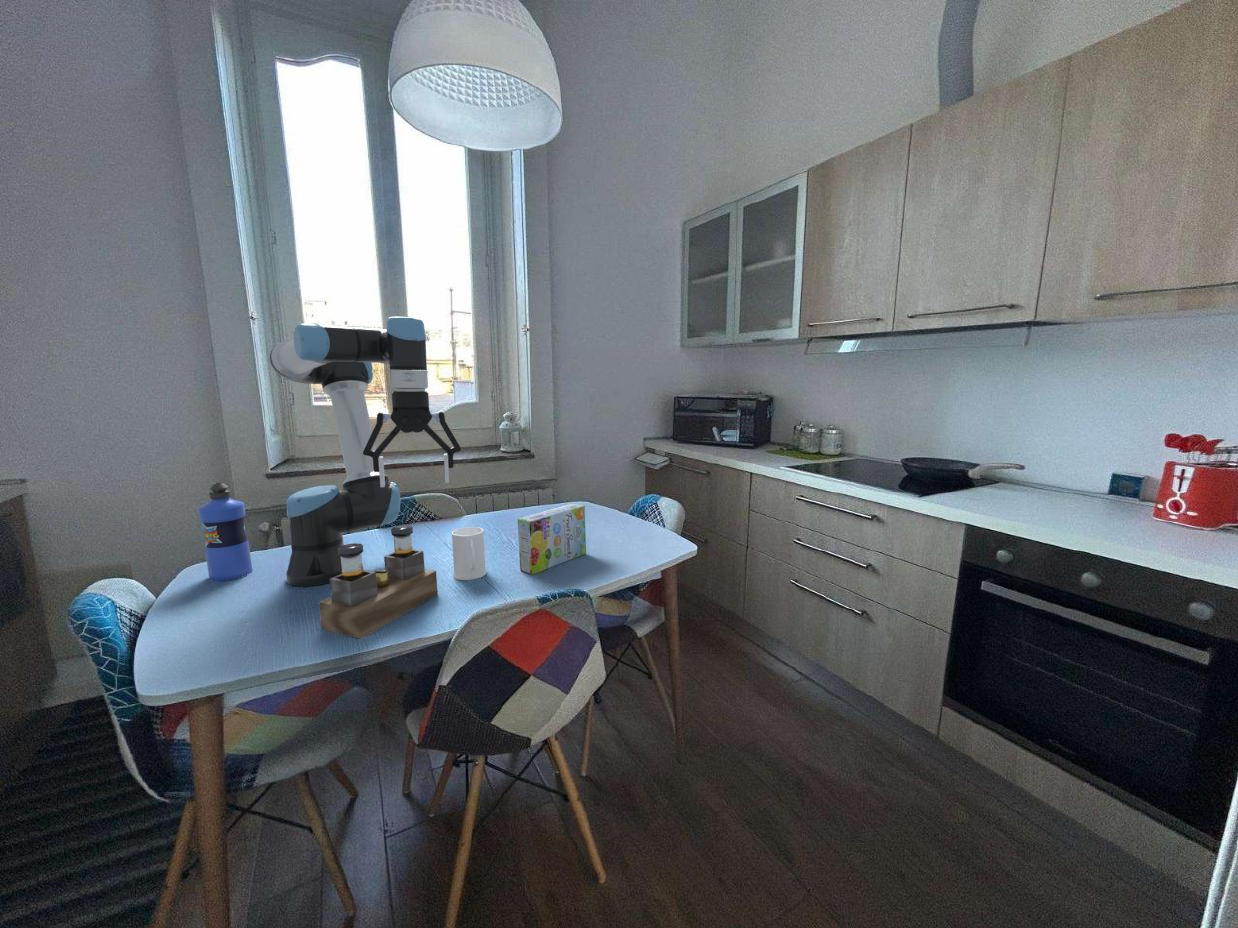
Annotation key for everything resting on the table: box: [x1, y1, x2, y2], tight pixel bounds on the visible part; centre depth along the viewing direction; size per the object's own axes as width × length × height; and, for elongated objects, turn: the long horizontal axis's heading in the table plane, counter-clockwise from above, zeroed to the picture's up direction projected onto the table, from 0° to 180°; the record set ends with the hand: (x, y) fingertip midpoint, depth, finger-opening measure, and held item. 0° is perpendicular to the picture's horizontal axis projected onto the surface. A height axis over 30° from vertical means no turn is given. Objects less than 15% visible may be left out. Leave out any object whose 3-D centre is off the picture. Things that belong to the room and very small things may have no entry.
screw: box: [374, 569, 389, 588], centre depth 108 cm, size 3×3×3 cm
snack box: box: [517, 503, 587, 575], centre depth 137 cm, size 21×6×15 cm, turn 141°
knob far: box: [390, 525, 414, 558], centre depth 113 cm, size 5×5×8 cm
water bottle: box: [198, 482, 253, 582], centre depth 127 cm, size 9×9×25 cm
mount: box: [318, 549, 439, 640], centre depth 108 cm, size 11×22×11 cm, turn 160°
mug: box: [451, 526, 487, 581], centre depth 127 cm, size 12×8×12 cm
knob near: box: [337, 542, 364, 582], centre depth 100 cm, size 5×5×8 cm
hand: (415, 484), depth 110 cm, fingers open, 13 cm apart
